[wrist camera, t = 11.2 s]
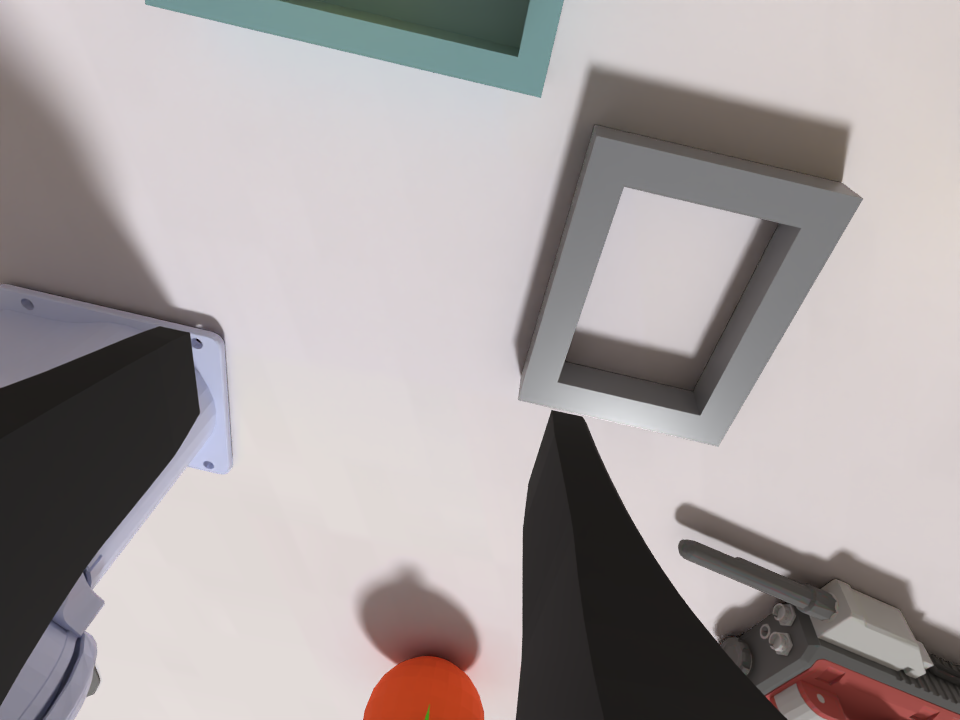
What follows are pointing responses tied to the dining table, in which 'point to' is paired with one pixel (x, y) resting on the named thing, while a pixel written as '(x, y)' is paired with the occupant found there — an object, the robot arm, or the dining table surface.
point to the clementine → (424, 693)
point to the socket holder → (757, 318)
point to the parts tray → (410, 32)
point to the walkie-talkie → (833, 651)
